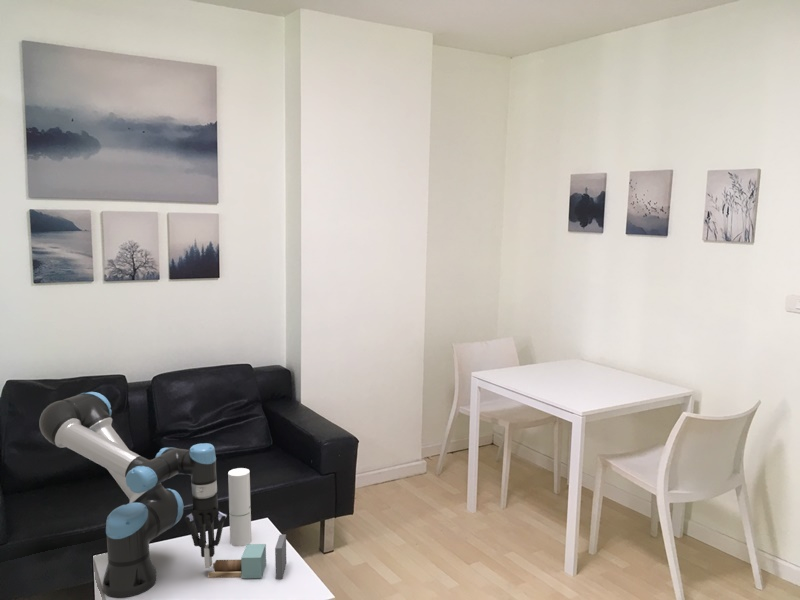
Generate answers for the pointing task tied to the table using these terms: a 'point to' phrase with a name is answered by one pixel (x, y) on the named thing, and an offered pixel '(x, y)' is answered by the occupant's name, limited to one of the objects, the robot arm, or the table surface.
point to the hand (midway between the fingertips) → (208, 566)
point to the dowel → (227, 565)
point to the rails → (224, 574)
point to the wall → (280, 556)
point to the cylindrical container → (239, 506)
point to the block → (253, 560)
